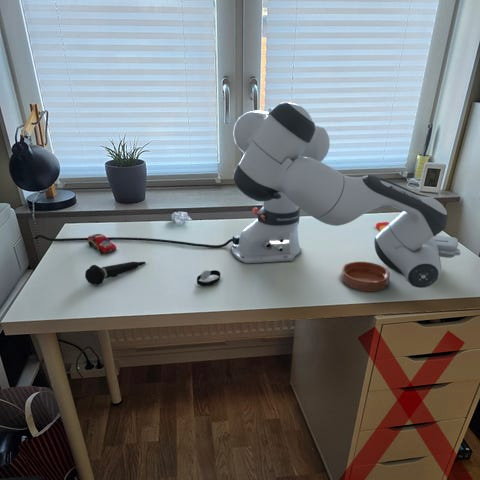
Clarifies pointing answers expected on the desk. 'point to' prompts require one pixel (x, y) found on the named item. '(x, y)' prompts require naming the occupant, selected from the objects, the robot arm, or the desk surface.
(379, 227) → the popsicle
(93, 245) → the race car
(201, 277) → the watch
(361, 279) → the terracotta bowl
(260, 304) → the desk surface
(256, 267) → the desk surface
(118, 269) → the microphone
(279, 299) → the desk surface
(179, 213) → the crumpled paper
